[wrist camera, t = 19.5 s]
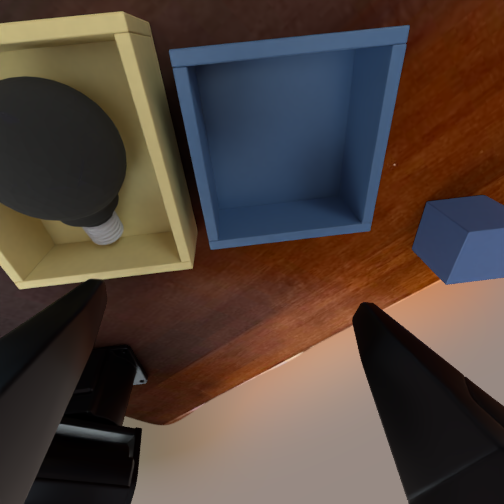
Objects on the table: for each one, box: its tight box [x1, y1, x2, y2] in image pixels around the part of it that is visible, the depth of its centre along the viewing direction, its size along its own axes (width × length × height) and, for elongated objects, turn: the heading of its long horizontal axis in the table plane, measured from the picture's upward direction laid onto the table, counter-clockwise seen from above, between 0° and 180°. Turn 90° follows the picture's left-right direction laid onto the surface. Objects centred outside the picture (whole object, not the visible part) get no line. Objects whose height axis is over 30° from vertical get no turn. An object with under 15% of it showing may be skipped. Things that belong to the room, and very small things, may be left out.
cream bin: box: [0, 11, 198, 289], centre depth 15 cm, size 12×11×4 cm
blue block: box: [412, 195, 504, 285], centre depth 21 cm, size 4×4×4 cm
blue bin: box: [169, 25, 410, 250], centre depth 16 cm, size 10×10×4 cm
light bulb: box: [0, 76, 127, 245], centre depth 15 cm, size 6×6×10 cm
